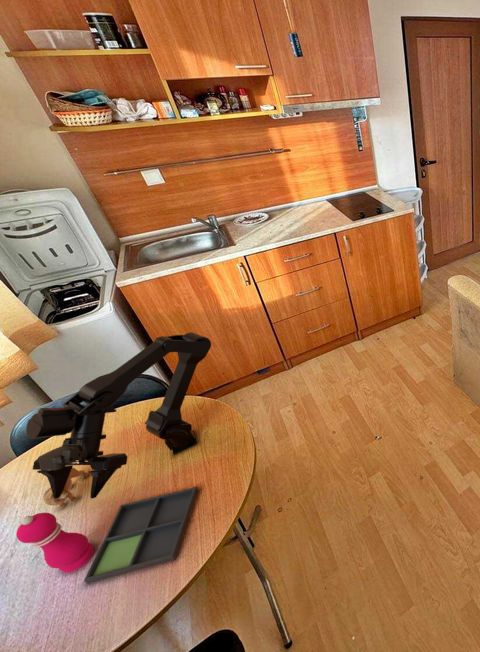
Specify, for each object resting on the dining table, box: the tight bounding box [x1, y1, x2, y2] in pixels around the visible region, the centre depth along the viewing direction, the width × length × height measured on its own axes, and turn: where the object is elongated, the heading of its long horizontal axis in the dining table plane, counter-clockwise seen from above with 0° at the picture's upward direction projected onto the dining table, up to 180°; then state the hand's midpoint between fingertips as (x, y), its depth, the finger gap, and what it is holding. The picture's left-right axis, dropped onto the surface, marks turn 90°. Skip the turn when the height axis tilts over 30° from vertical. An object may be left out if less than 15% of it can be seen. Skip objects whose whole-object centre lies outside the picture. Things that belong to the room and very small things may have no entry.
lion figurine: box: [42, 467, 88, 510], centre depth 104 cm, size 15×5×9 cm, turn 33°
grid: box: [83, 486, 199, 585], centre depth 97 cm, size 18×18×2 cm
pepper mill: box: [15, 512, 95, 574], centre depth 87 cm, size 7×7×20 cm
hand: (75, 498), depth 92 cm, fingers open, 9 cm apart
